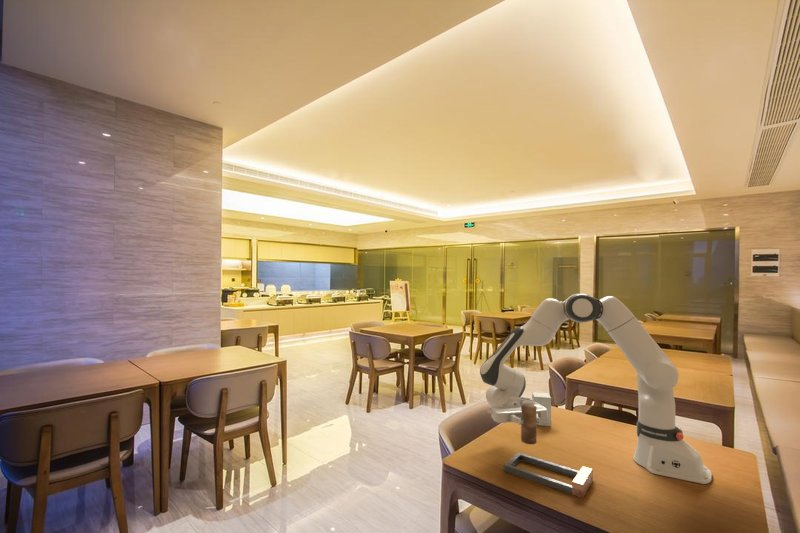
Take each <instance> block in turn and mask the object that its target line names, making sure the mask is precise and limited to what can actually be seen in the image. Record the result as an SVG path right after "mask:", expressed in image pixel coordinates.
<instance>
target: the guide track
mask: <svg viewBox="0 0 800 533" xmlns="http://www.w3.org/2000/svg"><path fill="white" fill-rule="evenodd" d="M520 462H525V463H527V464H530V465H533V466H536V467H541V468H544V469H546V470H549V471H553V472H556V473H559V474H562V475H565V476H568V477H571V478H573V480H572V481H571V484H569V483H566V482H563V481H561V480H557V479H553V478H551V477H547V476H545V475H541V474H538V473H536V472H533V471H530V470H526V469H524V468H521V467H517V465H518V464H519V463H520ZM503 471H504V472H505V473H508V474H511V475H514V476H517V477H520V478H523V479H526V480H528V481H531V482H534V483H538V484H539V485H544V486H546V487H549V488H551V489H555V490H558V491H561V492H564V493H566V494H570V495H572V496H575V497H578V498H581V499H584V496H585V495H586V494H587V492H588V490H589V488H590V487H591V485H592V483H593V481H594V480H593V471H594V470H593V468H590V467H588V466H585V465H582V466H581V467H580V468H579V470H577V469H574V468H570V467H568V466H564V465H562V464H558V463H554V462H552V461H548V460H545V459H542V458H538V457H535V456H533V455H532V456H531V455H529V454H526V453H522V452H516V454H515V455H513V456H512V457H511V458H510V459H509V460H508V461H506V463H505V464H504V465H503Z"/></svg>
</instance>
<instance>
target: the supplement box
mask: <svg viewBox="0 0 800 533" xmlns="http://www.w3.org/2000/svg"><path fill="white" fill-rule="evenodd" d="M531 399H533V401H534V402H536V403H539V404H540V405H542V406H544V407H545V408H546V409H547V411H548V417H547V419H546V420H541V423H537V425H536V426H544V427H545V426H546V427H551V426H552V397H551V396H550V394H549V392H531Z"/></svg>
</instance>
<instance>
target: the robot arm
mask: <svg viewBox="0 0 800 533" xmlns="http://www.w3.org/2000/svg"><path fill="white" fill-rule="evenodd" d="M594 320H595V321H597V322H598V323H599V324H600V325H601V326H602V327H603V328H604V330H605V331H606V332H607V334H608V335H609V336H610V338H611V339H612V340H613V342H615V344H616V345H617V347H618V348H619V350H620V351H621V352H622V353H623V355H624V356H625V357H626V359H627V360H628V361H629V363H630V364H631V366H632V367H633V369H634V370H635V372H636V382H637V394H638V395H637V396H638V398H637V399H638V419H637V421H636V435H637V442H636V447H635V452H634V455H633V458H632V459H633V460H634V462H635V463H636V464H638V465H639V466H641V467H643V468H644V469H646V470H647V471H648V472H649V473H651V474H655V475H659V476H663V477H668V478H673V479H677V480H681V481H687V482H692V483H696V484H702V485H706V484H709V483H711V482H712V480H713V477H712V476H713V474H712V472H711V470H710V469H709V467H707V466H706V465H705V464H704V463H703V459H702V455H701V454H700V453H699V451H698V450H696V449H695V448H694V447H693V446H691V445H690V444H689V443H688V442H687V441H686V440H685V439H684V433H683V430H682V428H681V427H680V428H679V427H677V426H676V402H675V401H676V400H675V394H674V393H675V392H674V388H675V387H676V385H677V384H678V382H679V372H678V368H677V367H676V365H675V364H674V363H673V362H672V360H671V359H670V358H669V356H667V354H666V353H665V352H664V350H663V349H662V348H661V347H660V346H659V344H657V342H656V341H655V339H653V337H652V336H651V334H649V333H648V331H647V330H646V329H645V327H644V326H643V325H642V323H641V322H640V321H639V320H638V318H636V316H635V315H634V314H633V312H632V311H631V310H630V309H629V308H628V307H627V306H626V305H625V304H624V303H623V302H622V301H621V300H620V299H619V298H617V297H616V296H613V295H608V296H604V297H602V298H600V299H598V298H596V297H593V296H591V295H590V294H586V293H573V294H572V295H570V296H569V297H567V298H566V299H564V300H561V301H560V300H558V299H556V298H550V297H548V298H545V299H544V300H542V301H541V303H540V304H539V305H538V306H537V308H536V309H535V310H534V312H533V313H532V315H531V316H530V318H529V319H528V320H527V322H526V323H525V324H523V325H521V326H517V327H515V328H514V329H513V330H512V331H511V332H510V333H508V335H507V337H506V338H505V339H503V341H502V342H501V343H500V345H499V346H498V347H497V348H496V350H495V351H494V352H493V353H492V354H491V355H490V356H489V357H488V358H487V359H486V360H485V361H484V362H483V363H482V364H481V366H480V369H479V374H480V377H481V380H482V382H483V383H484V384H487V385H489V386H490V387H488V388H487V390H486V392H485V399H486V401H487V403H488V405H489V406H490V408H488V409H487V410H486V412H487V413H488V414H490V416H491V419H493V421H494V422H495V423H498V424H505V423H506V424H507V423H515V424H518V425H519V426H520V425H521V424H524V423H523V422H524V420H523V419H522V418H521V405H522V404H532V405H535V406H536V407H537V423H541V420H546V419H547V417H548V411H547V409H546V408H545V407H544V406H542V405H540V404H539V403H536V402H534V401H533V399H532V397H531V398H530V397H523V396H522V395H523V394H524V392H525V390H526V387H527V386H526V385H527V384H526V382H527V381H526V377H525V375H524V373H523V372H521V371H519V370H517V369H515V368H513V367H510V366H509V365H506V364H505V362H506V360H507V359H508V358H509V357H510V356H511V354H512V353H513V351H514V350H515V349H517V348H519V347H521V346H532V347H542V346H546V345H548V344H549V343H551V341H552V340H553V339H554V338H555V336H556V334H557V332H558V331H559V328H560V327H561V326H562V324H564V322H566V321H573V322H575V323H579V324H581V323H582V324H583V323H587V322H591V321H594Z"/></svg>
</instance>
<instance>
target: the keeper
mask: <svg viewBox="0 0 800 533" xmlns="http://www.w3.org/2000/svg"><path fill="white" fill-rule="evenodd" d="M521 418H522V419H523V420H524V422H523V423H524V424H521V426H520V429H521V430H520V441H521V442H522V443H524V444H526V445H535V444H537V426H538V425H537V407H536V406H535V405H532V404H522V405H521Z"/></svg>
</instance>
